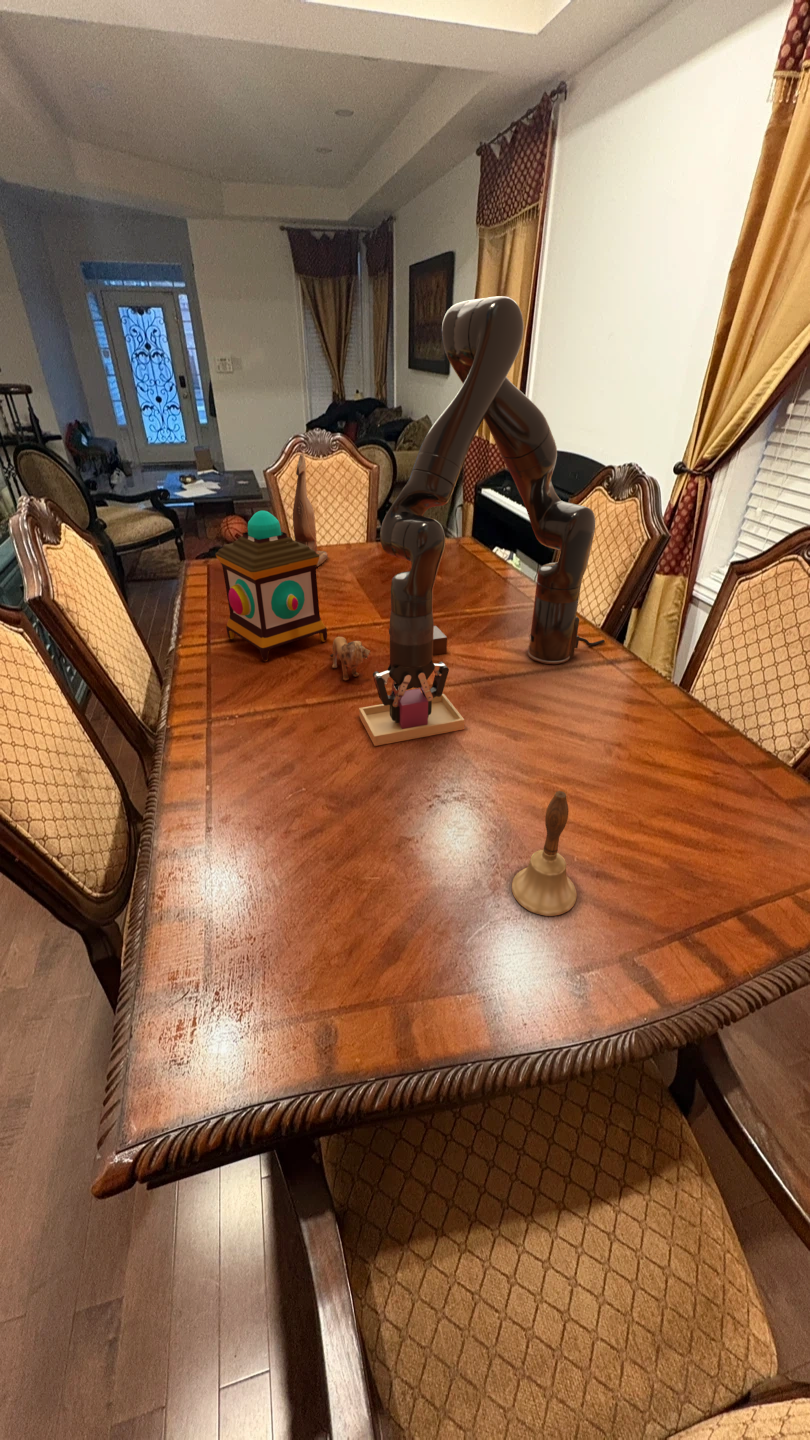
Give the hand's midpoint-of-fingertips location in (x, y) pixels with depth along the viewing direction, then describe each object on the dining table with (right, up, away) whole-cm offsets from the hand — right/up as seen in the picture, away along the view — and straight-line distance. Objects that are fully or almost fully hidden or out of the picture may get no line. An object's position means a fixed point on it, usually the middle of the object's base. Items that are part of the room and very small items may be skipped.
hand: (410, 718), depth 113 cm
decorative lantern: (-31, +19, +32) cm, 48 cm away
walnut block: (+4, +16, +28) cm, 32 cm away
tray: (0, -1, +1) cm, 1 cm away
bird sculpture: (-33, +50, +82) cm, 102 cm away
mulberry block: (0, 0, 0) cm, 0 cm away
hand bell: (+17, -23, -34) cm, 44 cm away
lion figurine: (-13, +10, +18) cm, 25 cm away
